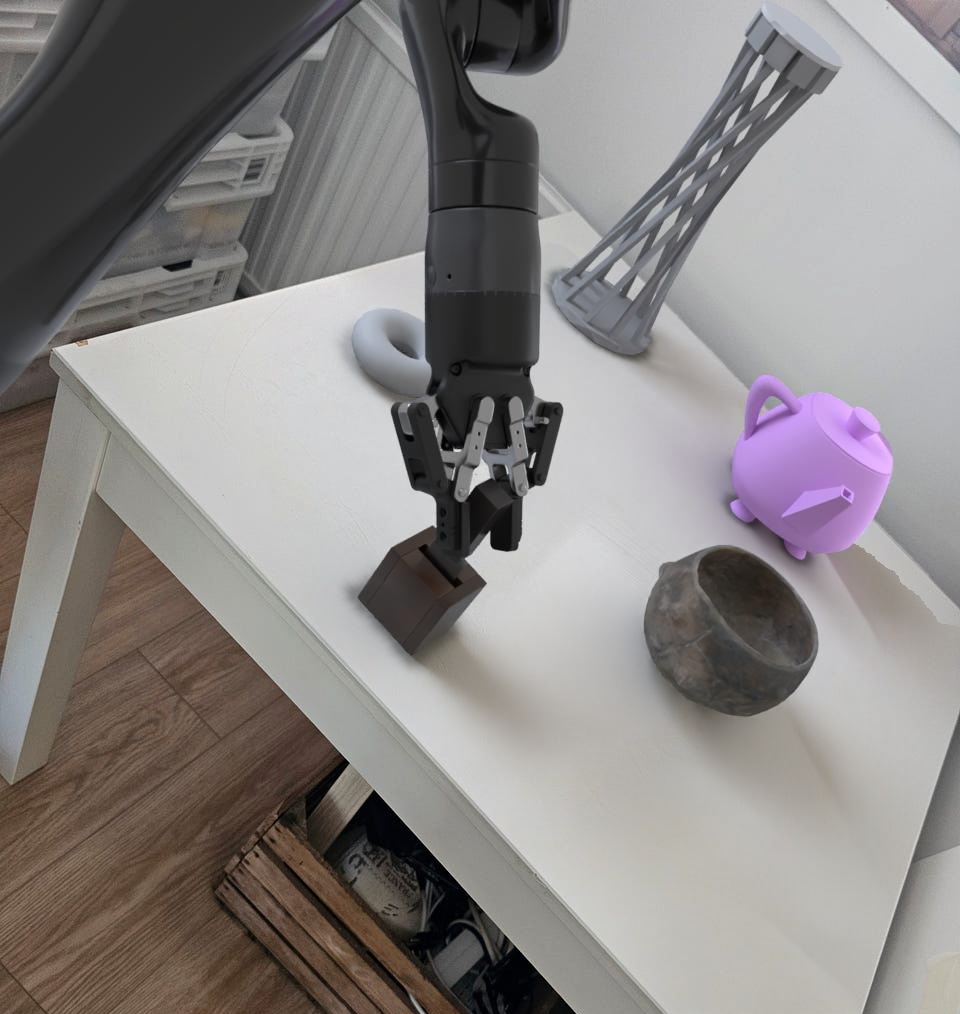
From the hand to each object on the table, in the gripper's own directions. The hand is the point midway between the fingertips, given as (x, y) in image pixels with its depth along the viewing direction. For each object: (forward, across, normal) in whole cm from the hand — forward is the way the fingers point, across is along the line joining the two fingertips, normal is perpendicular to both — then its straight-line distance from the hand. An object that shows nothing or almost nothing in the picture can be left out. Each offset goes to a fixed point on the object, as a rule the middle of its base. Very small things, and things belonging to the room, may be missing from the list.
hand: (480, 552), depth 71 cm
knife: (+6, 0, +8) cm, 10 cm away
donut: (-13, +14, +27) cm, 33 cm away
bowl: (+13, +26, +1) cm, 29 cm away
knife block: (+6, 0, +8) cm, 10 cm away
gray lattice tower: (-19, +50, +34) cm, 63 cm away
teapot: (+3, +52, +12) cm, 54 cm away
